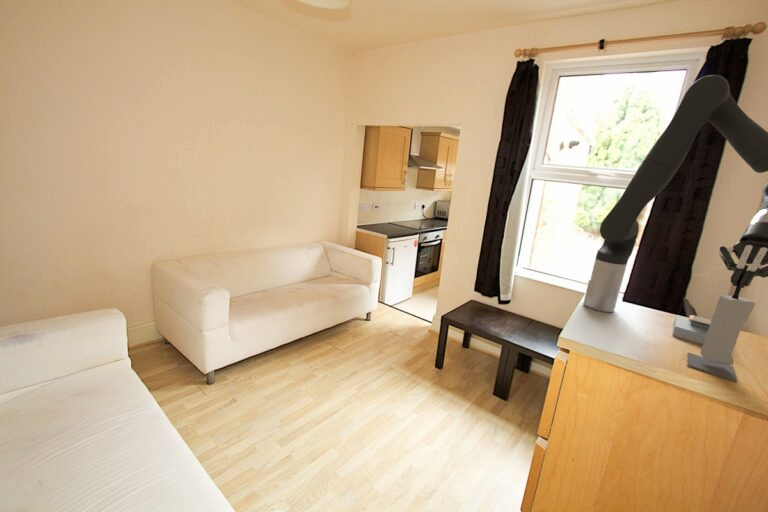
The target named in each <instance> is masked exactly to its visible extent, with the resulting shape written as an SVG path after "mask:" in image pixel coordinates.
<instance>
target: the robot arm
mask: <svg viewBox="0 0 768 512" xmlns="http://www.w3.org/2000/svg"><path fill="white" fill-rule="evenodd" d="M706 122H708V123H709V124H711V125H712V126H713V127H714V128H715V129H716V130H717V131H718V132H719V133H720V134H721V135H722V137H724V138H725V140H726V141H727V142H728V144H729V145H730V146H731V148H733V150H734V151H735V152H736V153H737V154H738V156H739V157H741V159H742V160H743V161H745V163H746V164H747V165H748V166H749V167H750V168H751V169H752V170H753V172H755V173H757V174H762V173H767V172H768V131H767V130H766V129H764V128H763V127H762V126H761V125H760V124H758V123H757V122H755V121H754V120H753V119H752V118H751V117H750V116H749V115H747V114H746V113H745V111H743V109H742V108H741V107H740V106H739V104H738V103H737V102H736V100H735V98H734V97H733V96H732V94H731V88H730V84H729V82H728V80H727V79H726V78H725V77H724V76H721V75H719V74H709V75H705V76H702V77H701V78H699V79H697V80H695V81H694V82H693V83H692V84H691V85H690V86H689V87H688V88H687V89H686V91H685V92H684V95H683V97H682V98H681V101H680V103H679V105H678V107H677V109H676V111H675V113H674V115H673V116H672V118H671V120H670V122H669V123H668V125H667V127H666V128H665V129H664V130H663V132H662V133H661V135H660V136H659V137H658V139H657V140H656V141H655V143H654V144H653V145H652V147H651V148H650V150H649V151H648V153H647V154H646V155H645V157H644V159H643V160H642V162H641V163H640V165H639V166H638V167H637V170H636V172H635V173H634V175H633V177H632V178H631V180H630V181H629V183H628V185H627V186H626V188H625V190H624V191H623V193H622V195H621V196H620V198H619V199H618V201H617V202H616V204H615V205H614V206H613V207H612V209H611V210H610V211H609V213H607V215H606V216H605V217H604V219H603V220H602V221H601V224H600V227H599V234H600V236H601V238H602V239H603V240H604V241H603V244H602V245H601V247H600V248H599V249H598V250H597V252H596V256H595V259H594V265H593V269H592V270H591V271H592V272H591V274H590V275H591V276H590V279H589V280H588V283H587V286H586V291H585V295H584V299H583V303H582V305H583V306H586V307H587V308H590V309H592V310H595V311H598V312H605V313H613V312H614V311H615V310H616V309H615V308H616V307H617V302H618V297H619V294H620V289H621V287H622V282H623V280H624V275H625V272H626V269H627V265H628V262H629V259H630V258H631V256H632V254H633V251H634V247H635V246H636V241H637V238H638V235H639V230H640V226H639V225H640V224H639V222H638V221H637V219H638V217H639V216H640V214H641V213H642V211H643V210H644V208H645V207H646V206H647V205H648V204H649V203H650V202H651V201H652V200H653V199H654V198H656V196H658V194H660V193H661V192H662V191H663V190H664V189H665V187H666V186H667V185H668V184H669V183H670V181H672V179H673V177H674V176H675V175H676V173H677V171H679V168H681V165H682V164H683V162H684V161H685V159H686V157H687V155H688V153H689V151H690V149H691V147H692V145H693V142H694V140H695V138H696V137H697V135H698V133H699V131H700V130H701V129H702V127H703V126H704V125H705V124H706ZM718 253H719V256H720V258H721V260H722V262H723V263H724V266H725V267H726V270H728V271H732V275H731V277H730V284H732V286H734V287H736V286H737V285H738V283H739V280H740V277H741V275H742V272H743V269H744V266H745V265H747V266H749V265H750V266H749V267H748V269H747V271H746V273H745V274H744V276H743V278H742V280H741V282H740V287H741V289H745V287H749V286H750V285H751V283H752V282H753V280H754V278H755V277H760V278H768V182H767V183H766V184H765V185H764V186H763V188H762V191H761V205H760V206H759V208H758V210H757V211H756V213H755V214H754V216H753V217H752V218H751V220H750V221H749V223H748V225H747V227H746V228H745V230H744V231H743V234H742V235H741V237H740V238H739V240H738V242H737V243H734V245H732V246H731V247H726V246H720V247H719V252H718ZM733 253H734V255H735V256H736V259H738V262H737V263H736V261H735V260H734V259H733V257H732V255H733Z"/></svg>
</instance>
